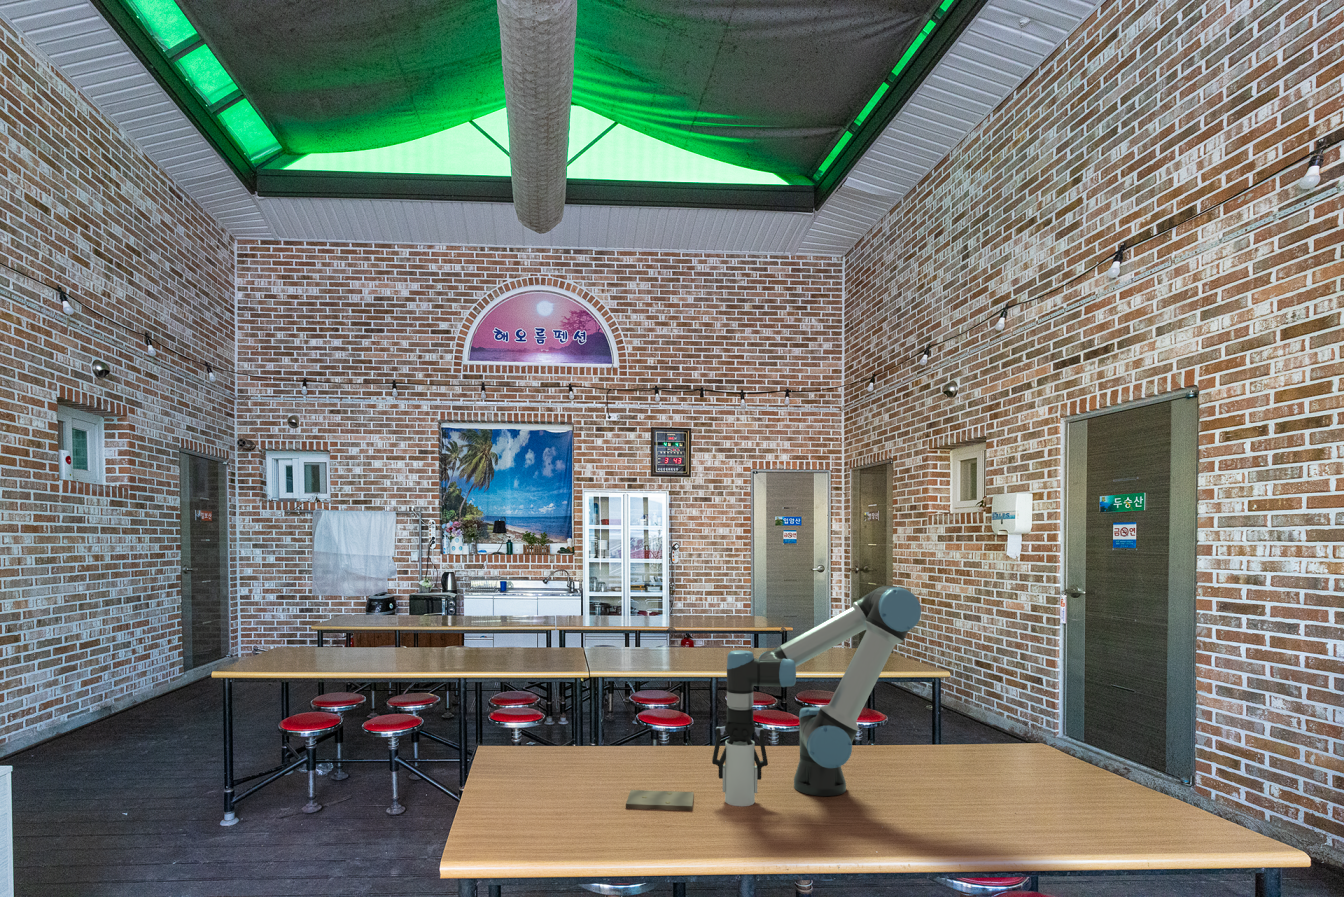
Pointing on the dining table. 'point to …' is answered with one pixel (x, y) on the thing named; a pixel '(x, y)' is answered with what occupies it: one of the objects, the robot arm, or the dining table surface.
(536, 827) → the dining table surface
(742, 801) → the cup
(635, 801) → the board
